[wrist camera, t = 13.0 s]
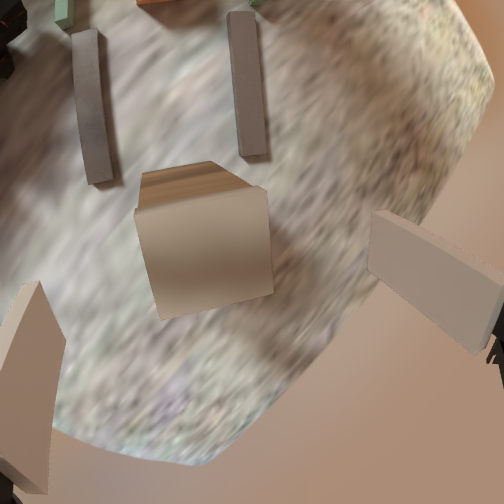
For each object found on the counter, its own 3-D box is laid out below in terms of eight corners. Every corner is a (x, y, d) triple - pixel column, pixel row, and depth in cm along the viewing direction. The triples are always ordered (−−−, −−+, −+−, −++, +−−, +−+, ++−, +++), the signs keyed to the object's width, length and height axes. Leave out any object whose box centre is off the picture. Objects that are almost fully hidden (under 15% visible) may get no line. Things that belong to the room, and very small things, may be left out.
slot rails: (74, 37, 17) (71, 34, 16) (250, 15, 20) (254, 11, 19) (90, 182, 22) (88, 185, 21) (262, 152, 25) (266, 153, 24)
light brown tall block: (140, 172, 23) (133, 216, 12) (212, 159, 24) (266, 191, 14) (152, 234, 25) (160, 320, 14) (219, 220, 26) (273, 293, 16)
